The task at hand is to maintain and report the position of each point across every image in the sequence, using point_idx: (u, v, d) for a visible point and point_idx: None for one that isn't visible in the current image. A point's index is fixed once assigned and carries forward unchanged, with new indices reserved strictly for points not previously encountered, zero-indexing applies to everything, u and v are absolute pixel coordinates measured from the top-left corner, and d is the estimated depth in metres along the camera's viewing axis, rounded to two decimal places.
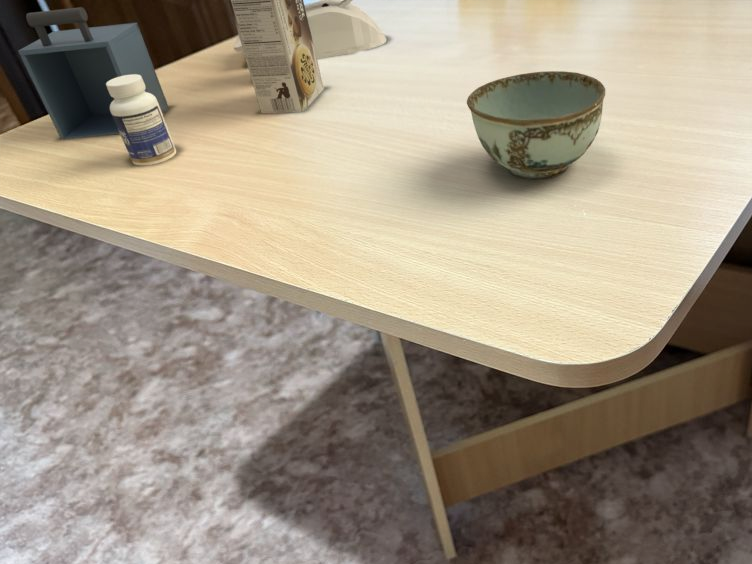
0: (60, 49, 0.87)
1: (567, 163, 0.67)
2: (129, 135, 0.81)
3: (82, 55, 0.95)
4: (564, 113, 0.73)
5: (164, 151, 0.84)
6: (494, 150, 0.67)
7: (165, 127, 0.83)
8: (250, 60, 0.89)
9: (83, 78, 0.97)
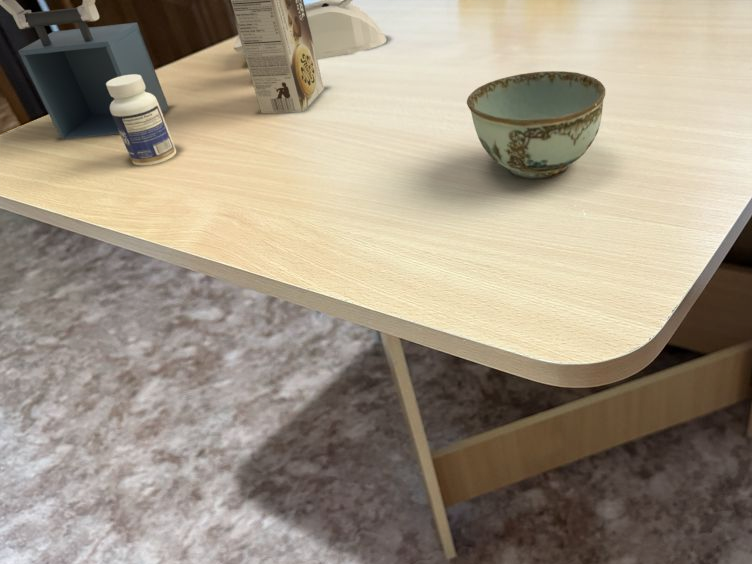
0: (60, 49, 0.87)
1: (567, 163, 0.67)
2: (129, 135, 0.81)
3: (82, 55, 0.95)
4: (564, 113, 0.73)
5: (164, 151, 0.84)
6: (494, 150, 0.67)
7: (165, 127, 0.83)
8: (250, 60, 0.89)
9: (83, 78, 0.97)
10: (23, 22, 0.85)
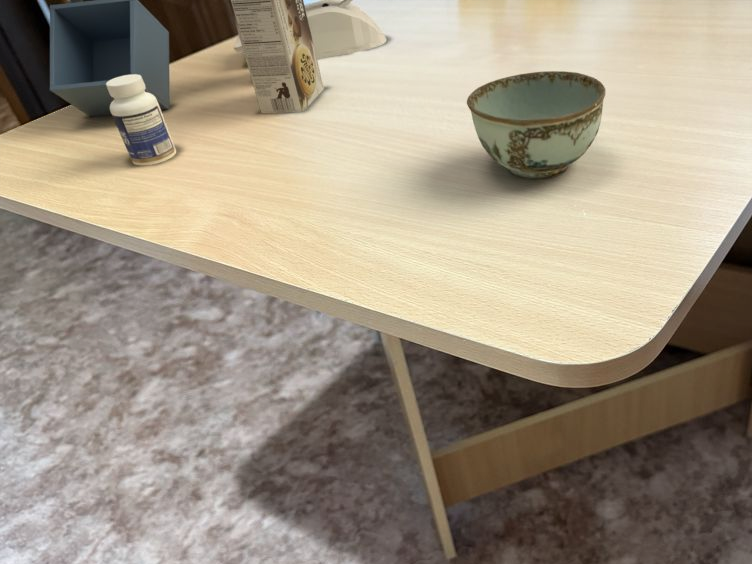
0: (88, 3, 0.93)
1: (567, 163, 0.67)
2: (129, 135, 0.81)
3: (108, 57, 1.01)
4: (564, 113, 0.73)
5: (164, 151, 0.84)
6: (494, 150, 0.67)
7: (165, 127, 0.83)
8: (250, 60, 0.89)
9: (100, 77, 1.01)
10: None
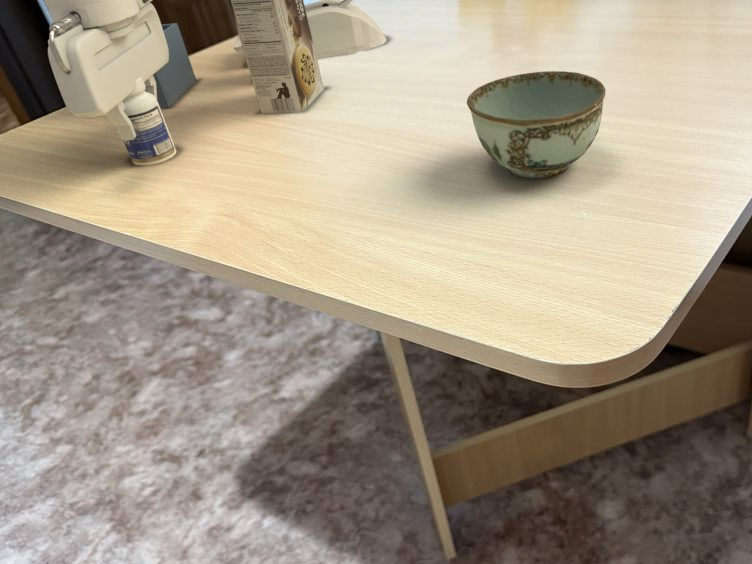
0: None
1: (567, 163, 0.67)
2: None
3: None
4: (564, 113, 0.73)
5: (164, 151, 0.84)
6: (494, 150, 0.67)
7: (165, 127, 0.83)
8: (250, 60, 0.89)
9: None
10: (134, 131, 0.80)
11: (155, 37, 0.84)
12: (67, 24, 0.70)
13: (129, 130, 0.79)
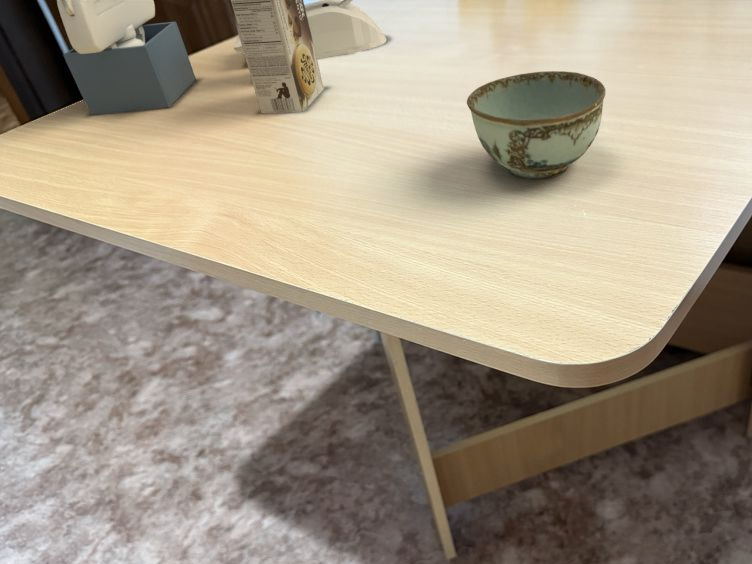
0: None
1: (567, 163, 0.67)
2: None
3: None
4: (564, 113, 0.73)
5: None
6: (494, 150, 0.67)
7: None
8: (250, 60, 0.89)
9: None
10: None
11: None
12: None
13: None
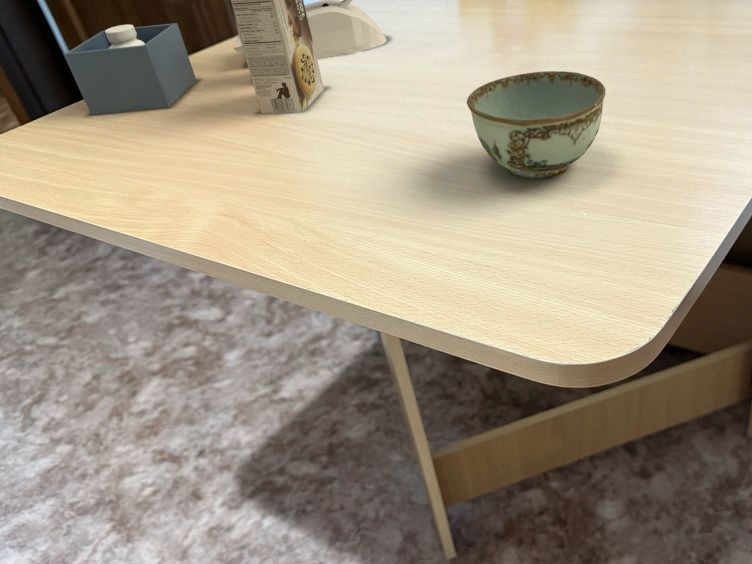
0: (135, 27, 1.04)
1: (567, 163, 0.67)
2: None
3: None
4: (564, 113, 0.73)
5: None
6: (494, 150, 0.67)
7: None
8: (250, 60, 0.89)
9: None
10: None
11: None
12: None
13: None
